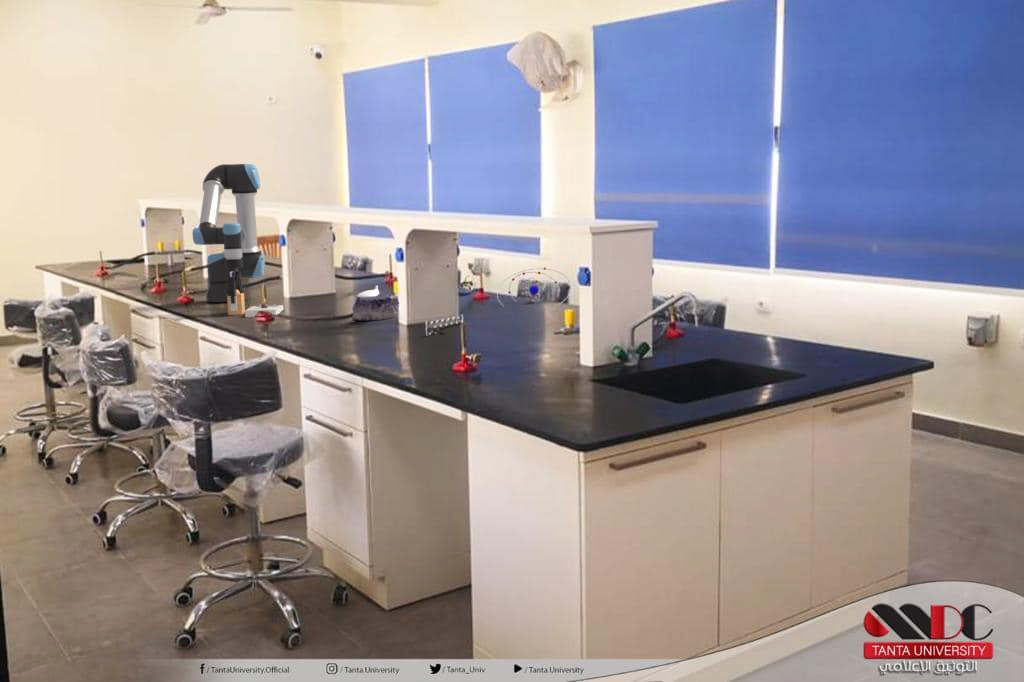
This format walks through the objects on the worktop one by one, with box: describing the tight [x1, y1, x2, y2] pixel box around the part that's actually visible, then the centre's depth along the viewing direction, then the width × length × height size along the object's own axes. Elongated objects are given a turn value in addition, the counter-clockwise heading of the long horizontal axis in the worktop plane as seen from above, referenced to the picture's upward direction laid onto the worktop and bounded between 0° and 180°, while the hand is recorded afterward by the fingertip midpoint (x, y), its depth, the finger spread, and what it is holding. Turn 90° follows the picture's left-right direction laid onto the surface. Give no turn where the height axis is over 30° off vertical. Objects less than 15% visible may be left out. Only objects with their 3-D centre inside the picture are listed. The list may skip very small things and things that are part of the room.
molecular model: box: [424, 314, 465, 337], centre depth 379 cm, size 25×9×6 cm, turn 146°
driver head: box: [356, 285, 380, 298], centre depth 478 cm, size 10×11×12 cm
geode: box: [352, 297, 400, 322], centre depth 408 cm, size 20×12×10 cm, turn 130°
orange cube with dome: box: [227, 289, 246, 316], centre depth 438 cm, size 6×6×11 cm
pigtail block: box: [244, 298, 284, 318], centre depth 435 cm, size 18×13×7 cm
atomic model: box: [496, 267, 572, 307], centre depth 433 cm, size 28×21×30 cm
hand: (236, 309), depth 438 cm, fingers open, 9 cm apart
